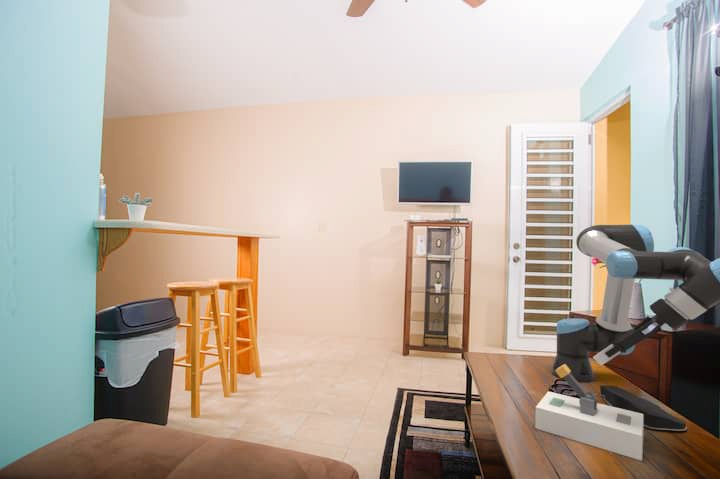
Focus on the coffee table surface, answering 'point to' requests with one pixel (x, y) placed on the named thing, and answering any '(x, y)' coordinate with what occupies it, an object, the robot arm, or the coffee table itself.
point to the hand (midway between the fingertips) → (597, 361)
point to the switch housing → (592, 423)
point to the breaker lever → (575, 384)
